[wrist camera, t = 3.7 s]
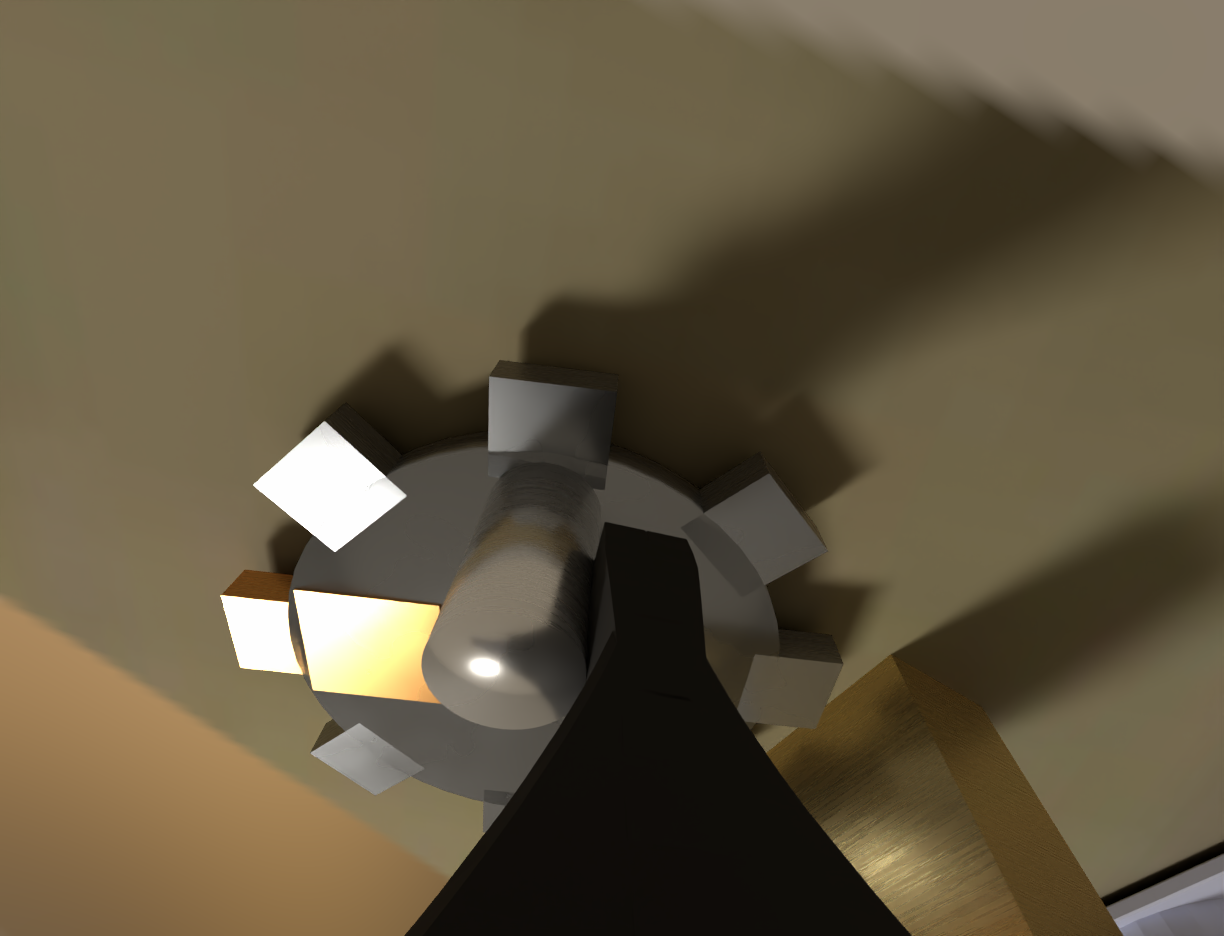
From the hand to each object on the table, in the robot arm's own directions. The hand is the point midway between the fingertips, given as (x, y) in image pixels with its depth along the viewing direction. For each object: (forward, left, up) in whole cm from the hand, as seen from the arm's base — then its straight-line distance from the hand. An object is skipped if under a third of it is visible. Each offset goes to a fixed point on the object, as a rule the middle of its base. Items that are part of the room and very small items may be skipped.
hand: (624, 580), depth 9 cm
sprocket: (0, +4, -3) cm, 5 cm away
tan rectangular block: (-9, +3, -3) cm, 10 cm away
